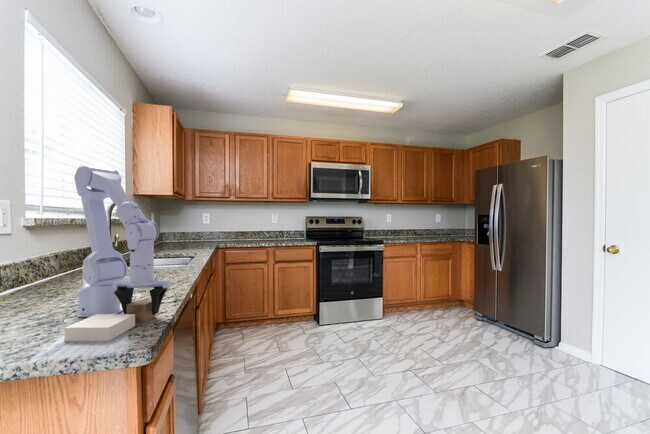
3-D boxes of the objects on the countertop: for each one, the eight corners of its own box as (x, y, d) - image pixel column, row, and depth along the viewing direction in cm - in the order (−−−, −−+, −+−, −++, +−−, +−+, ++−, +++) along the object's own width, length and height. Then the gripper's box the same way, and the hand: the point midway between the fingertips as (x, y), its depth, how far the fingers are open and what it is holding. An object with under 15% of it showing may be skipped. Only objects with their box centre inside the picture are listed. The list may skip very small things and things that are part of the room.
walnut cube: (126, 323, 82) (126, 304, 82) (137, 317, 87) (137, 299, 87) (145, 323, 82) (145, 304, 82) (155, 317, 87) (155, 299, 87)
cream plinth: (64, 343, 69) (64, 327, 69) (96, 327, 79) (96, 314, 79) (108, 342, 69) (108, 327, 69) (134, 327, 79) (135, 314, 79)
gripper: (105, 267, 80) (104, 318, 80) (160, 267, 81) (160, 318, 80) (122, 263, 87) (122, 310, 87) (173, 263, 88) (173, 310, 87)
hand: (141, 313), depth 84 cm, fingers open, 7 cm apart
